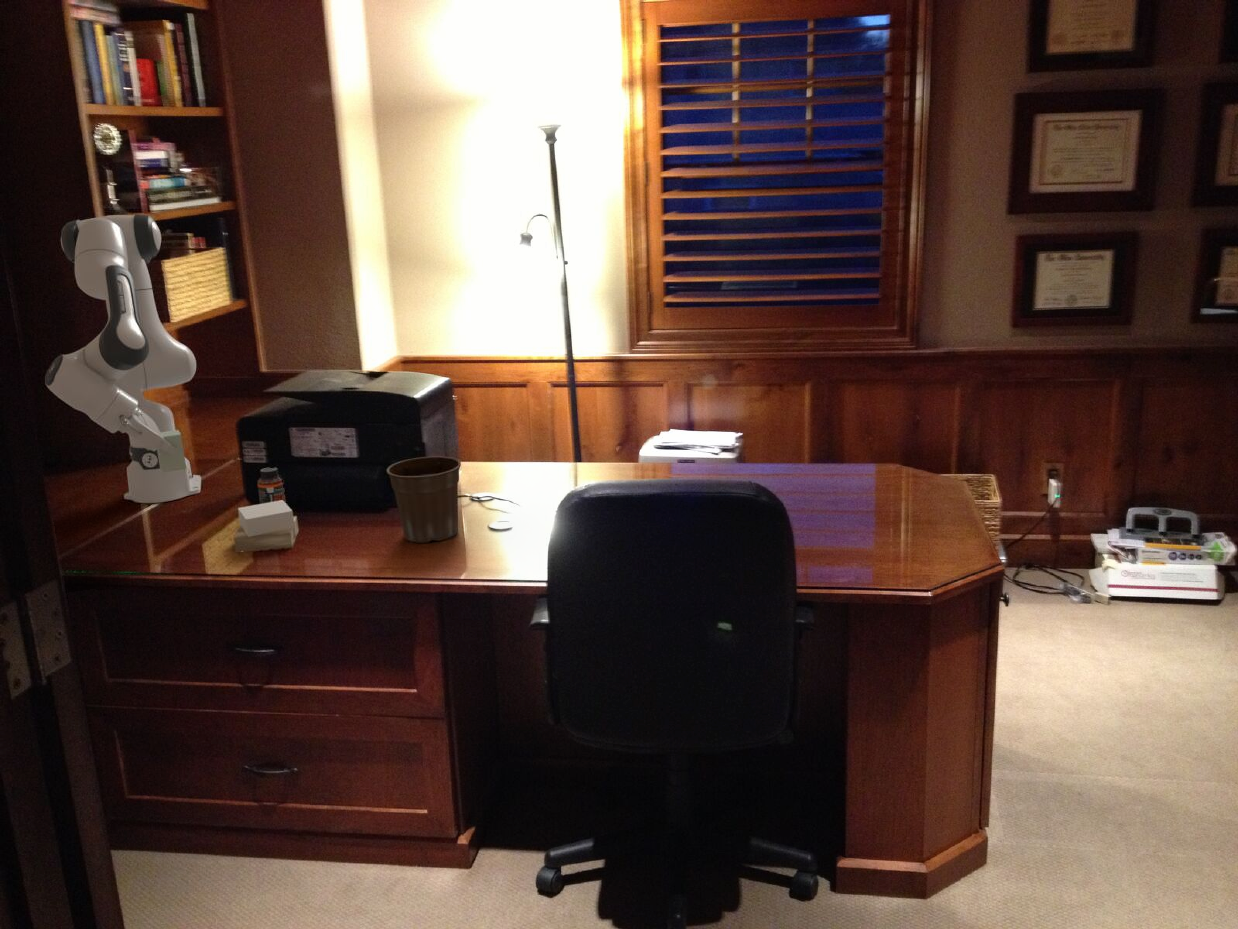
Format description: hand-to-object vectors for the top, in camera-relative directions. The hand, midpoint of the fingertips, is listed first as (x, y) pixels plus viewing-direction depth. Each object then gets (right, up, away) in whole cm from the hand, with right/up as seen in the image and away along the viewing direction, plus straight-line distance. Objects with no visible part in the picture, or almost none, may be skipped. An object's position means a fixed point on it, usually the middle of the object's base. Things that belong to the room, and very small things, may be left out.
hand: (173, 448), depth 247 cm
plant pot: (+57, -19, +2) cm, 60 cm away
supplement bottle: (+16, -16, +21) cm, 31 cm away
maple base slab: (+21, -21, +2) cm, 30 cm away
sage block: (0, -4, +1) cm, 4 cm away
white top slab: (+21, -17, +1) cm, 27 cm away
